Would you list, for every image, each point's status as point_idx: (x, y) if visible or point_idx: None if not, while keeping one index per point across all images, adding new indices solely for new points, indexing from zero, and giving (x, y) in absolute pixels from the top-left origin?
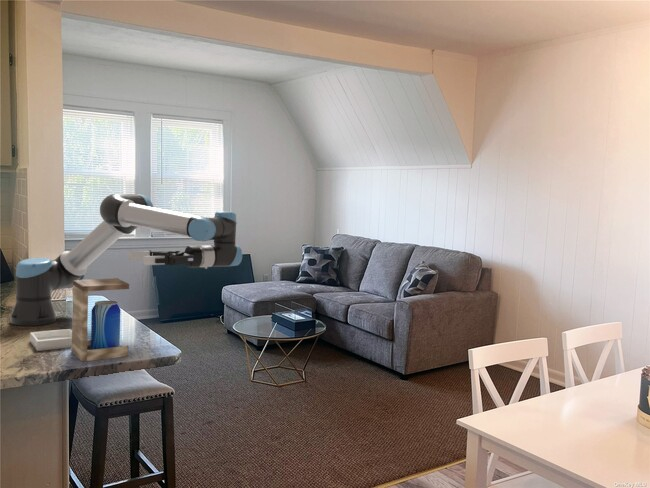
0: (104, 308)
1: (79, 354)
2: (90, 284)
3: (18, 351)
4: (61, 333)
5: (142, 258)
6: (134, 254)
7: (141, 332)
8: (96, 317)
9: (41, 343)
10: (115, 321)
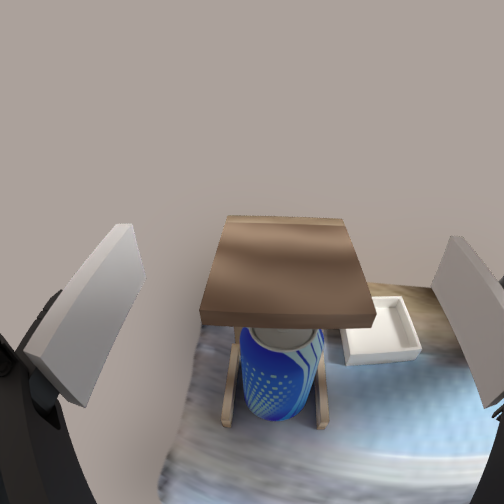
0: None
1: None
2: (252, 229)
3: None
4: (411, 340)
5: (469, 350)
6: (458, 274)
7: (426, 499)
8: None
9: None
10: (243, 367)
